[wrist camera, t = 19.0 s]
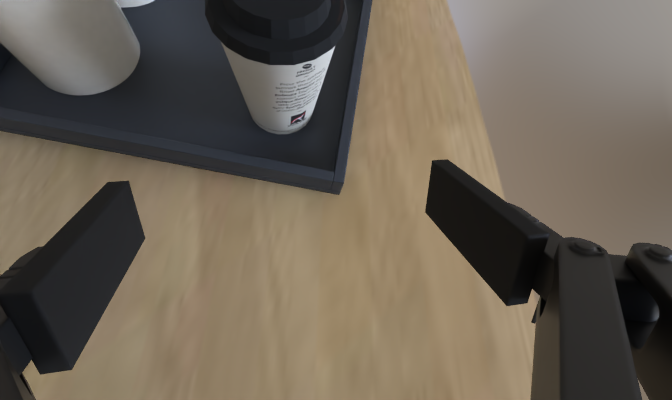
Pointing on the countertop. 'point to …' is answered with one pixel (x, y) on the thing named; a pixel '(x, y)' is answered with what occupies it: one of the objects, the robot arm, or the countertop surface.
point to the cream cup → (71, 42)
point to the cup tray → (195, 104)
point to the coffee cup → (278, 54)
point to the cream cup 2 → (133, 3)
